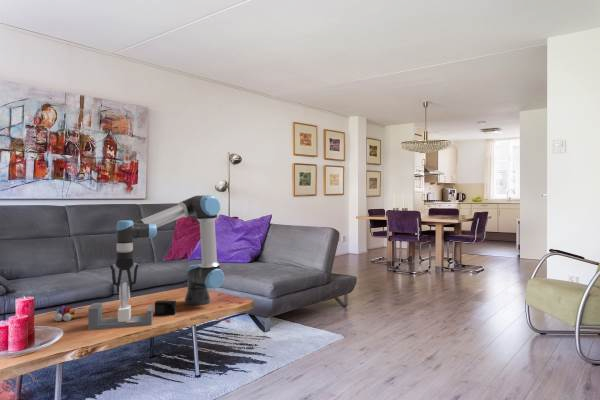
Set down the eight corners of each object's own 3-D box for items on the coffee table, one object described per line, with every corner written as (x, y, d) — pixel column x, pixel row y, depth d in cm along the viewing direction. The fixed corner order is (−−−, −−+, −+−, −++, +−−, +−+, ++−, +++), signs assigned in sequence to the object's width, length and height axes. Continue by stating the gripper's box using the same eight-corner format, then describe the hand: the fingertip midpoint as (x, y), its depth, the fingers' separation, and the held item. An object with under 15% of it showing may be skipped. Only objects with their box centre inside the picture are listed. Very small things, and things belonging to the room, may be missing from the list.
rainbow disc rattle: (71, 321, 209) (72, 307, 209) (51, 322, 207) (51, 308, 207) (78, 317, 217) (78, 303, 217) (58, 318, 215) (58, 304, 215)
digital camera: (153, 316, 218) (153, 303, 218) (156, 313, 224) (156, 300, 224) (174, 315, 219) (174, 302, 219) (175, 313, 225) (175, 300, 225)
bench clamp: (152, 318, 213) (152, 299, 214) (151, 325, 202) (151, 304, 202) (93, 323, 205) (93, 303, 205) (88, 330, 194) (88, 308, 194)
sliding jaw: (130, 316, 209) (131, 281, 209) (128, 321, 200) (129, 284, 201) (120, 317, 208) (120, 281, 208) (117, 322, 199) (117, 284, 199)
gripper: (142, 250, 210) (142, 296, 210) (108, 251, 206) (107, 298, 205) (141, 251, 203) (141, 299, 203) (105, 252, 199) (105, 301, 198)
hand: (124, 298), depth 204 cm, fingers closed on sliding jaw, 3 cm apart
